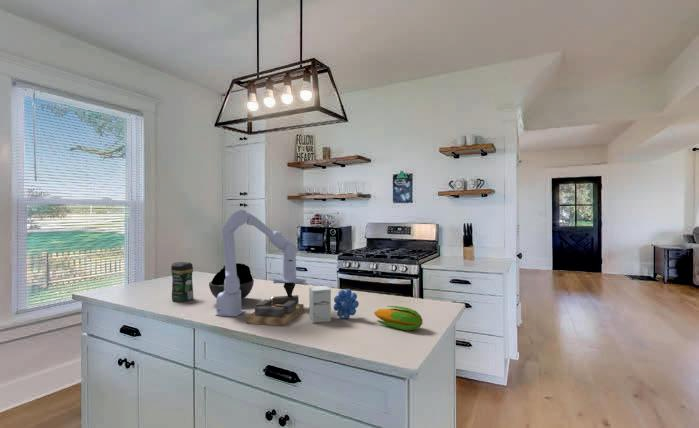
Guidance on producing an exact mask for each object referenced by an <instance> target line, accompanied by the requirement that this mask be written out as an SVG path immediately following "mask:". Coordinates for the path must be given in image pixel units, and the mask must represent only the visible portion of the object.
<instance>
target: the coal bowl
mask: <svg viewBox="0 0 699 428" xmlns="http://www.w3.org/2000/svg"><path fill="white" fill-rule="evenodd" d="M236 271H237V277H238V278H239V281H240V282H239V283H240V288H239V289H240V290H241V301H242V300H244V299H246V298H247V296H249V294H250V293H251V292H252V289H253V286H254V282H255V280H254V279H253V276H252V273H251V268H250V266H249V265H247V264H245V263H241V262H236ZM225 278H226V276H225V264H224V265H223V268H221V269H220V270H219V271H218V272H217V273H216V274H214V276H213V278H212V280H211V281H209V283H208V288H209V291H210V293H211V294H212V296H213V297H214V298H215V299H217V296H218V294H219V293H220V292H223V291H224V280H225Z"/></svg>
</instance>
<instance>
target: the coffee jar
mask: <svg viewBox="0 0 699 428" xmlns="http://www.w3.org/2000/svg"><path fill="white" fill-rule="evenodd" d="M170 267H171V268H170V272H171V277H172V278H171V279H172V283H171V285H172V286H171V300H172V301H175V302H186V301H187V302H189V301H191V300H192V299H194V284H193V271H194V268H193V267H194V266H193V263H192V262H187V261H177V262H173V263H172V264H171V266H170Z"/></svg>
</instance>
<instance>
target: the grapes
mask: <svg viewBox="0 0 699 428" xmlns="http://www.w3.org/2000/svg"><path fill="white" fill-rule="evenodd" d="M337 293H338V294H337V295H335V296H334V298H333V302H334V305H333V310H334V311H337V312H336V313H337V315H336V316H338V317H340V318H342V317H343V318H344V319H345V320H346V319H349V318H350V317H351V316H354V315H356V312H357V309H356V308H358V307H359V305H360V302H359V301H358V300H357V298H358V295H357V293H356V292H352V289H351V288H346V289H345V290H344V289H340V290H339V291H338V292H337Z"/></svg>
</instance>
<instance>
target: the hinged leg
mask: <svg viewBox="0 0 699 428" xmlns="http://www.w3.org/2000/svg"><path fill="white" fill-rule="evenodd" d="M269 300H272V306H273V305H276V304H279V305H284V304H285V303H287V302H288V301H296V304H300V303H299V295H298V294H296V295H293V294H292V296H288V295H279V296H277V295H276V296H269Z"/></svg>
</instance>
